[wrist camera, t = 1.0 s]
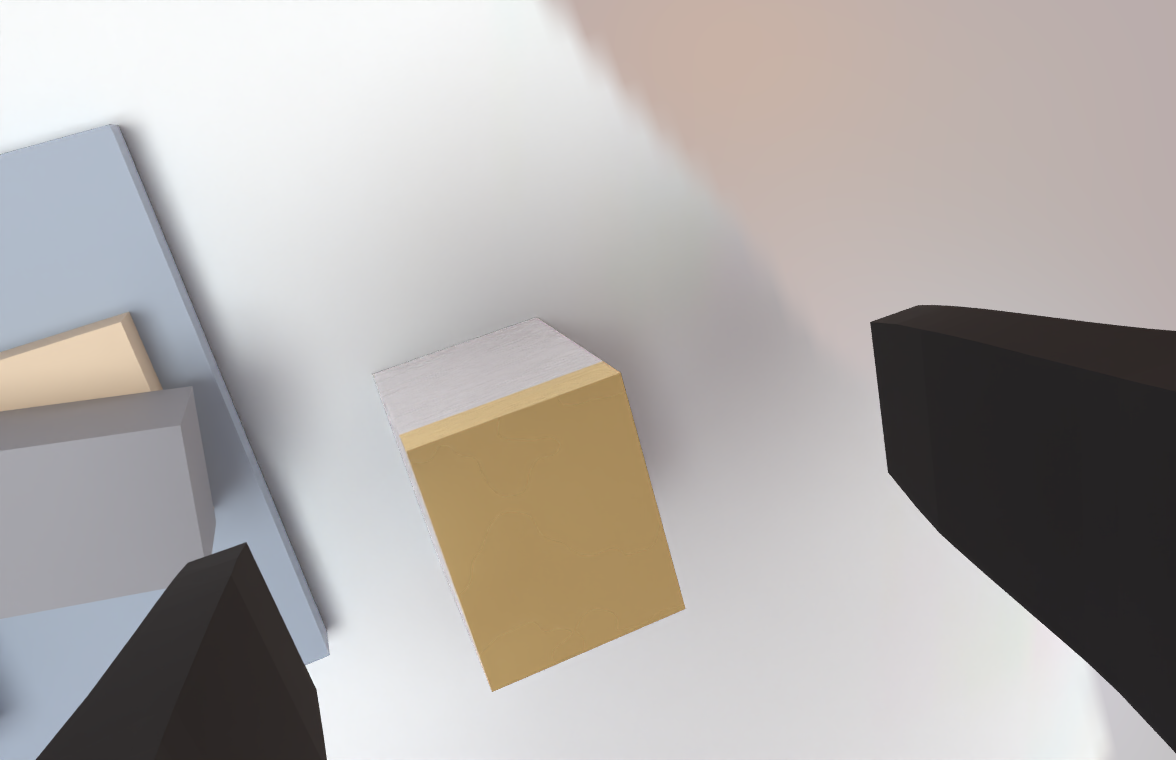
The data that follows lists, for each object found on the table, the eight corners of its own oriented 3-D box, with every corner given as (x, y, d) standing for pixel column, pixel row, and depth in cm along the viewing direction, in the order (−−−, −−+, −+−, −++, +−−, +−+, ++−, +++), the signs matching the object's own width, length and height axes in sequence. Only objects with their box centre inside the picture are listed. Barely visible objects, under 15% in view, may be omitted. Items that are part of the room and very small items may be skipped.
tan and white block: (591, 503, 25) (685, 608, 19) (440, 563, 24) (492, 692, 18) (536, 317, 23) (621, 373, 18) (371, 373, 22) (405, 451, 17)
